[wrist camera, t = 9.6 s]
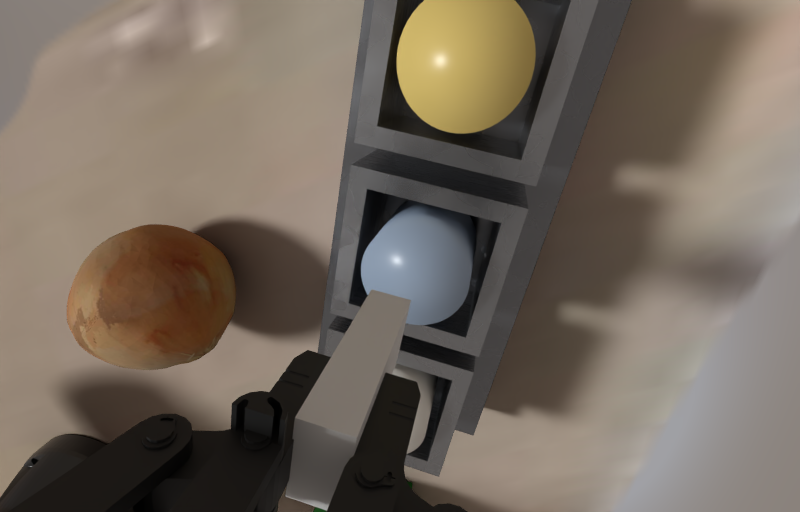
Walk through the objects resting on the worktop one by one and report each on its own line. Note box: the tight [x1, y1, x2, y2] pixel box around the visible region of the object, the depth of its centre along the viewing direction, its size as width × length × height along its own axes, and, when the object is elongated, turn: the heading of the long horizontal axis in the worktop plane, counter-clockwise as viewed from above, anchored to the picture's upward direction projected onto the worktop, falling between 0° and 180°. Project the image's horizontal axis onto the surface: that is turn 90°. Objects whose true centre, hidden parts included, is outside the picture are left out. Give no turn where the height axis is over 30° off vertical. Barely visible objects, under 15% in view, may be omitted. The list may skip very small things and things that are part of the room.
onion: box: [67, 225, 236, 370], centre depth 29 cm, size 10×10×10 cm
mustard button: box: [397, 0, 536, 134], centre depth 18 cm, size 5×5×5 cm
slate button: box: [361, 200, 477, 325], centre depth 22 cm, size 5×5×5 cm
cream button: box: [392, 364, 439, 454], centre depth 26 cm, size 5×5×5 cm
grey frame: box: [318, 0, 632, 477], centre depth 24 cm, size 12×28×8 cm, turn 169°
